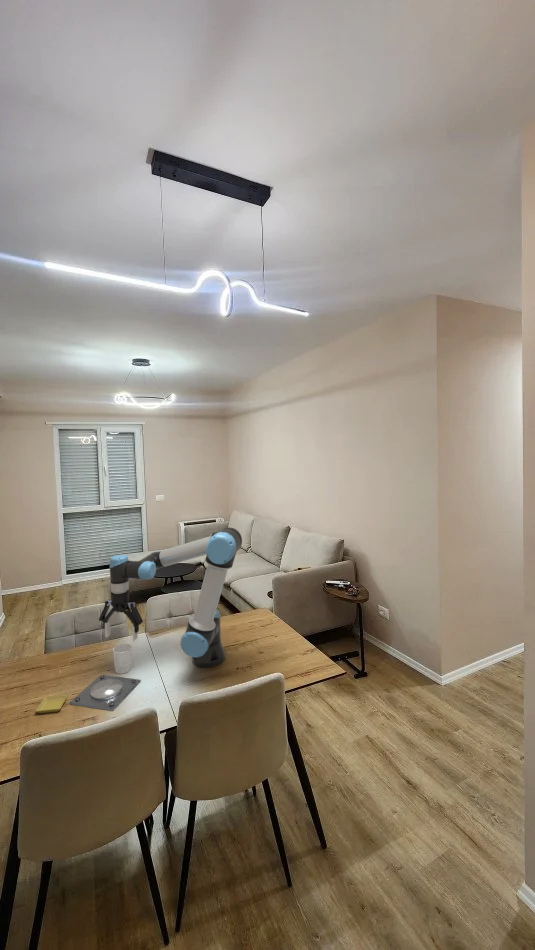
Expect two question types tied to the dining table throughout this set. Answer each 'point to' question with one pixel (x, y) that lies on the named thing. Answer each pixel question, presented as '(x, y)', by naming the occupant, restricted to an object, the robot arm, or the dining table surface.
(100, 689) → the panel
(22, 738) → the dining table surface
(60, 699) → the yellow square tray
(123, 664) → the white cup
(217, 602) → the robot arm
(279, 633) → the dining table surface
